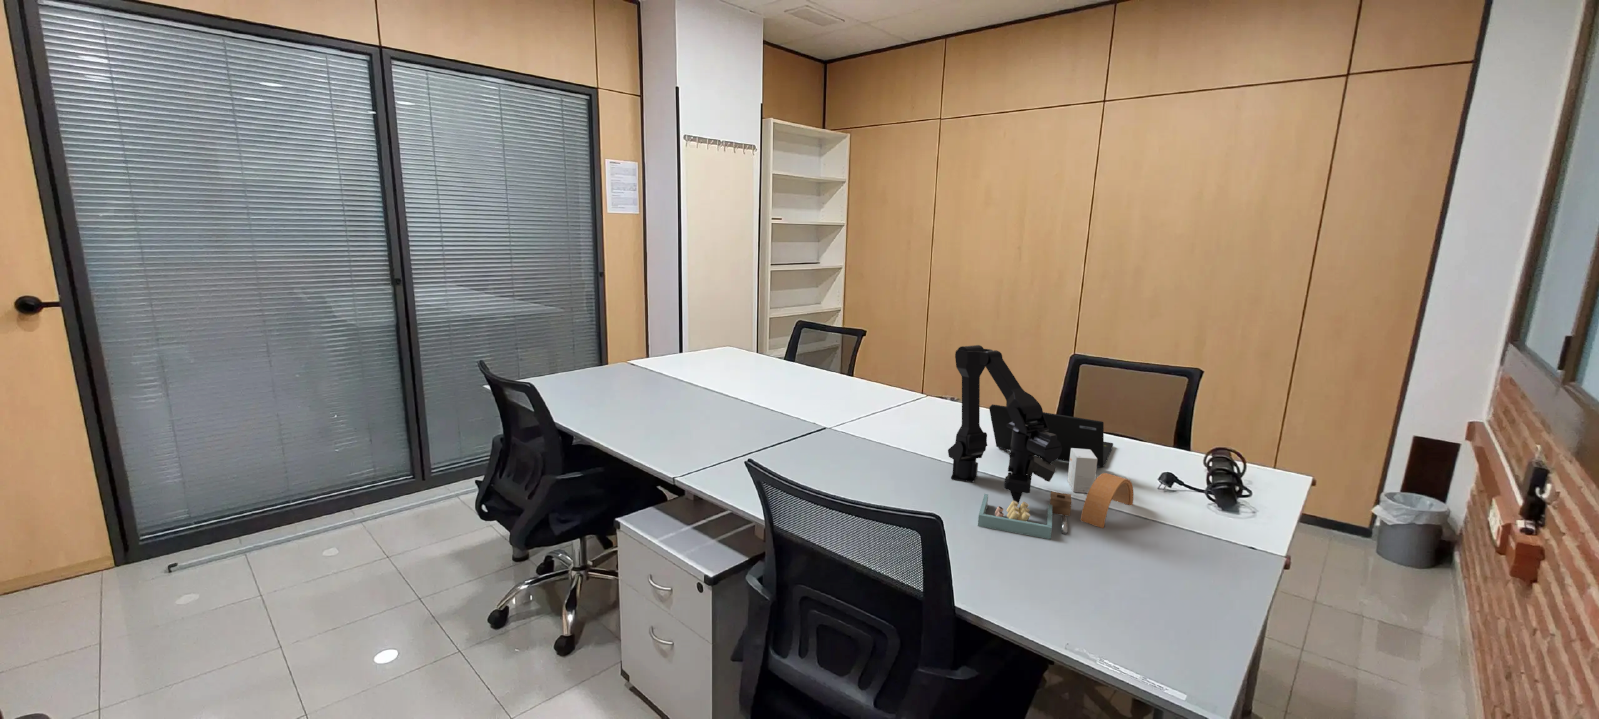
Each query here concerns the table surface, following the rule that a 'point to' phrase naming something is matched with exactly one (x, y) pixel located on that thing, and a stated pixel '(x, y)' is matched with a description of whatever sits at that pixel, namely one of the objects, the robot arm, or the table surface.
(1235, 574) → the table surface
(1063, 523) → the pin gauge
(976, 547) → the table surface
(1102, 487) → the arch
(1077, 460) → the small box
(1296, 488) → the table surface
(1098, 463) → the laptop
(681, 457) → the table surface
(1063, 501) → the bored block
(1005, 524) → the tray
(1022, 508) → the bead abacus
